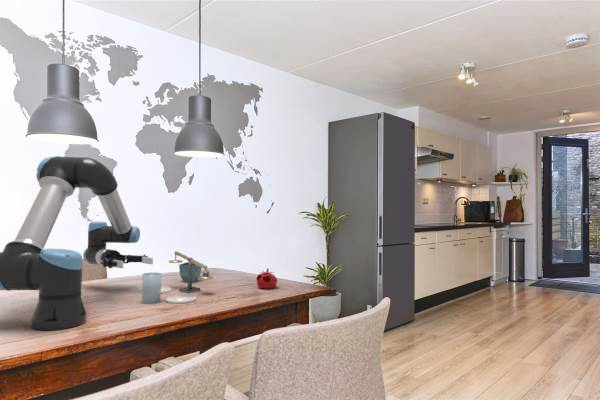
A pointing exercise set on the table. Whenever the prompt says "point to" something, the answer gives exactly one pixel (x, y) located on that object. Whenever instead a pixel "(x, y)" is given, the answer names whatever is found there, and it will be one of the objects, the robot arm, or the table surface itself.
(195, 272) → the flower pot
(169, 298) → the dish low
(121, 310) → the table surface
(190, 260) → the balance
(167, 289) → the dish high
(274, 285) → the pomegranate
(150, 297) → the cup
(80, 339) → the table surface
